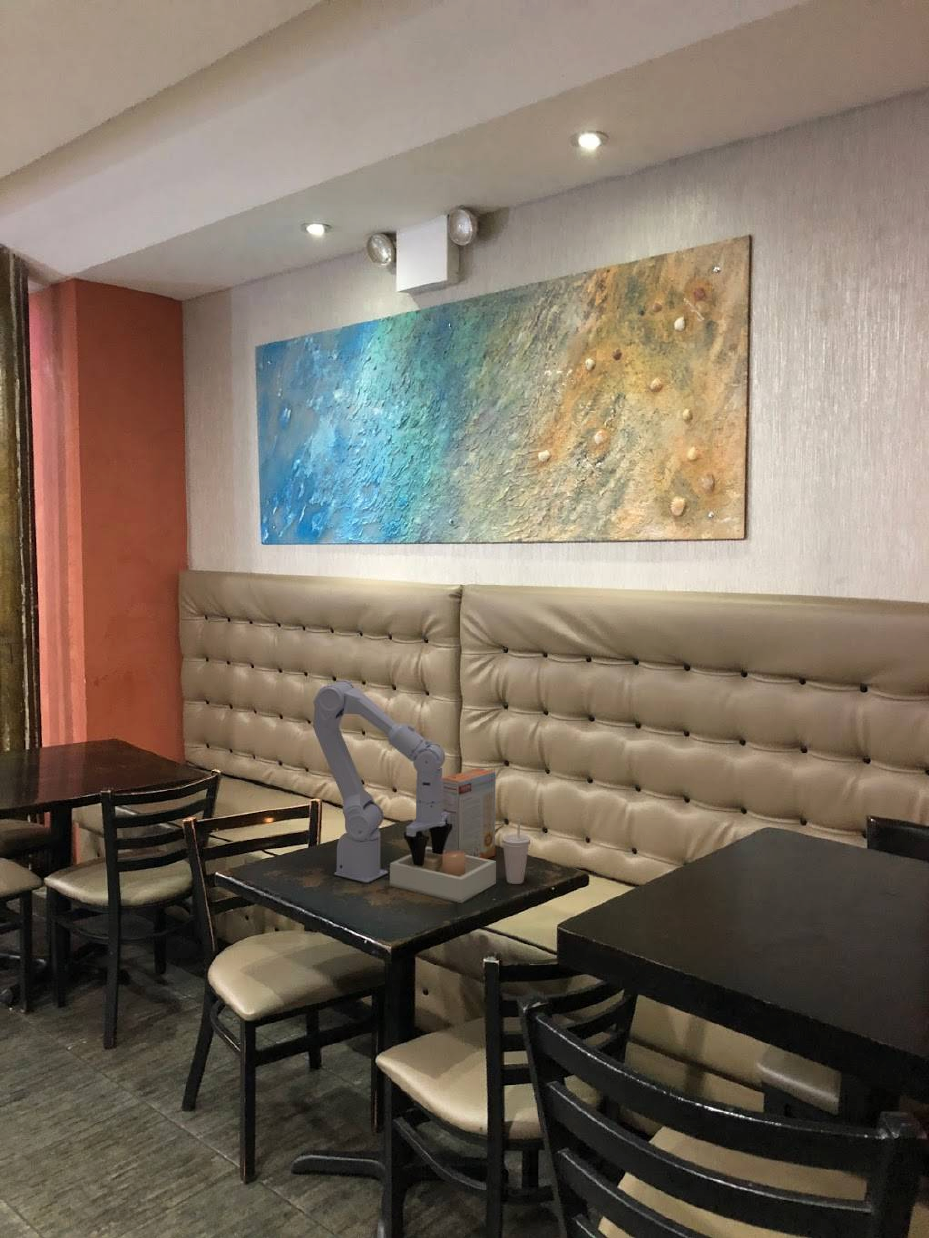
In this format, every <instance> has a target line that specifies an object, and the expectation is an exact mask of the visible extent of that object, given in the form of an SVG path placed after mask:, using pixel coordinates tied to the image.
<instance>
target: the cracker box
mask: <svg viewBox="0 0 929 1238" xmlns="http://www.w3.org/2000/svg"><path fill="white" fill-rule="evenodd" d="M442 812H447V813H450V821H449V822H447V823H449V824H452V825H453V826H452V830H451V832H450V833H449V835H448V838H447V840H446V844H445V847H444V850H446V851H448V850H460V851H463V852H465V853H466V855H469V856H474V857H479V858H483V859H489V858H491V857H494V856H495V855H496V771H495V770H491V769H490V770H489V769H486V768H479V767H478V768H477V767H476V768H474V769H470V770H467V771H464V772H460V773H456V774H453V775H449V776H446V777H445V776H444V777H442Z"/></svg>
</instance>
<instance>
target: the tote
mask: <svg viewBox="0 0 929 1238" xmlns="http://www.w3.org/2000/svg"><path fill="white" fill-rule="evenodd" d="M445 851H446V850H444V851H443V852H445ZM425 852H431V853H432V846H426V849H425ZM496 872H497V860H491V859H489V858H487V859H483V858H479V857H474V856H469V855H466V870H465V875H463V876H461V877H458V876H453V875H449V874H444V873H440V872H436V871H431V870H427V869H422V868H418V867H414V863H413V859H412V855H411V853H410V854H407V855H405V856H403V857H401V858H399V859H397V860H394V861H392V862H390V863H389V886H390V887H393V888H398V889H402V890H406V891H410V892H413V893H418V894H423V895H426V896H431V897H435V898H439V899H442V900H447V901H451V902H455V903H459V904H463V903H465V902H466V901H467V900H470V899H471V898H474V896H477V895H478V894H479V893H482V892H483V891H485V890H487V889H488V888H490V887H492V886H494V885H495V884H497V873H496Z"/></svg>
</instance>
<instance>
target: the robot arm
mask: <svg viewBox="0 0 929 1238" xmlns="http://www.w3.org/2000/svg"><path fill="white" fill-rule="evenodd" d="M312 703H313V705H314V711H313V721H312V722H313V723H312V727H313V728H312V729H313V731H314V734H315V736H316V738H317V740H318V743H319V745H320V748H321V749H322V752H323V755H324V758H325V760H326V762H327V764H328V766H329V769H330V772H331V774H332V776H333V778H334V779H333V780H334V781H335V783H336V786H337V789H338V791H339V793H340V796H341V797H342V800H343V804H342V814H343V816H344V829H345V833H343V834H342V835H341V836H340V837H339V838H338V841H337V843H336V844H337V846H336V871H335V872H334V875H335V876H338V877H343V878H346V879H349V880H354V881H357V882H358V881H359V882H361V883H365V884H368V883H370V882H372V881H374V880H376V879H378V878H380V877H383V876H384V875H386V874H388V873H389V871H388V870H386V869H381V832H380V829H379V827H380V826H381V825H382V823H383V822H384V817H385V816H384V812H383V809H382V808H381V807H380V805H379V804H378V803H376V801H375V800H374V798H373V796H372V794H370V793H369V792H368V791H367V790H366V789H365V786H364V784H363V782H362V780H361V777H360V775H359V772H358V770H357V768H356V765H355V763H354V760H353V758H352V755H351V754H350V751H349V749H348V746H347V744H346V741H345V739H344V736H343V734H342V732H341V730H340V728H339V727H340V723H341V721H342V719H343V717H344V715H347V714H348V715H360V717H362V718H364V720H366V721H368V723H371V725H373V726H374V727H376V728H377V729H378V730H380V731H381V732H382V733H384V734H385V735H386V736H387V740H388V744H389V745H391V747H393V748H394V749H395V750H396V751H398V752H399V753H400V754H402V755H403V756H404V757H406V759H408V760H409V761H411V762H412V763H413V767H414V769H415V770H416V788H415V789H416V791H415V792H416V795H415V796H416V798H415V799H416V800H415V819H414V820H413V821H412V822H411V823H410V824H409V825H407V826H406V827H405V828H406V829H405V831H404V833H403V838H404V840H405V842H406V843H407V846H408V848H409V850H410V854H411V855H412V859H413V863H414V865H417V866H423V864H424V858H425V849H426V847H427V844H428V842H429V840H430V839H431V847H432V853H435V854H440V855H443V851H444V847H445V844H446V840H447V838H448V835H449V833H450V832H451V830H452V826H453V825H452V824H449V823H447V822H449V821H450V813H447V812H442V778H443V768H442V766H443V765H444V764H445V760H446V754H445V751H444V749H443V747H441V746H440V744H439V743H435V742H432V740H430V739H429V738H427V739H426V738H425V737H424V736H422V735H421V734H420V733H419V732H417V731H416V730H415V728H416V727H415V726H414V725H413V724H412V723H410V724H407V723H406V722H401V723H397V722H396V721H395V720H394V719H393V718H392V717H391V716H390V715H389V714H388V713H386V712H385V711H383V710H382V708H380V707H379V706H378V705H377V704H376V703H375V702H374V701H373V700H371V699H370V698H369V697H368V696H367V695H366V694H365V693H364V692H363V691H362V690H361V689H360V688H358V687H355V686H354V685H353V683H351V682H349V681H348V680H341V679H340V680H337V681H336V682H334V683H331V684H327V685H324V686H323V687H321V688H320V689H319V690H318V692H317V693H316V696H315V698H314V699H313V702H312ZM427 830H428V831H429V833H430V836H428V835H424V833H423V832H425V831H427Z"/></svg>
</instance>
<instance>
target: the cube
mask: <svg viewBox="0 0 929 1238" xmlns="http://www.w3.org/2000/svg"><path fill="white" fill-rule="evenodd" d="M414 867H418V868H422V869H427V870H431V871H436V872H440V873H442V871H443V855H440V854H435V853H431V852H425V858H424V864H423V866H417V865H414Z"/></svg>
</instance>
